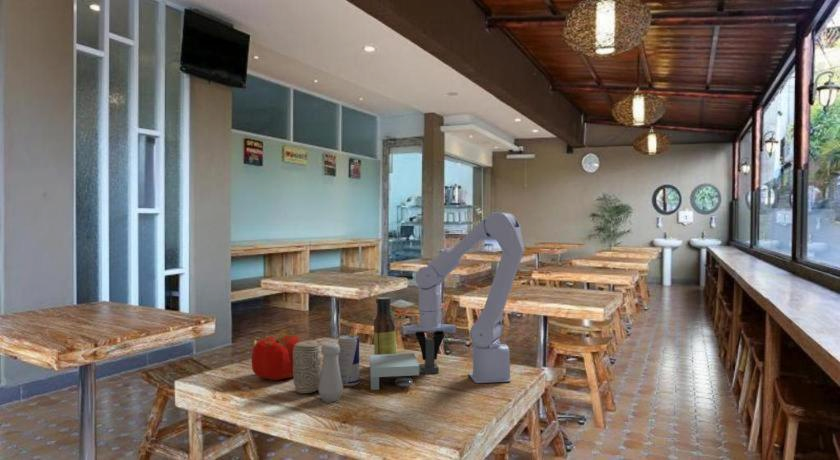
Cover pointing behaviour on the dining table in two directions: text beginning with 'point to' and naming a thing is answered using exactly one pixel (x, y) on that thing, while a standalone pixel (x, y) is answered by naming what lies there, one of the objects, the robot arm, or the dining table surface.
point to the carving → (306, 366)
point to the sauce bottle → (384, 328)
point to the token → (403, 382)
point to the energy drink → (349, 359)
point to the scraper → (429, 358)
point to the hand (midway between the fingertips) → (429, 358)
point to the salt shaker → (330, 374)
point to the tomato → (274, 357)
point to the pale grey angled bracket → (391, 367)
